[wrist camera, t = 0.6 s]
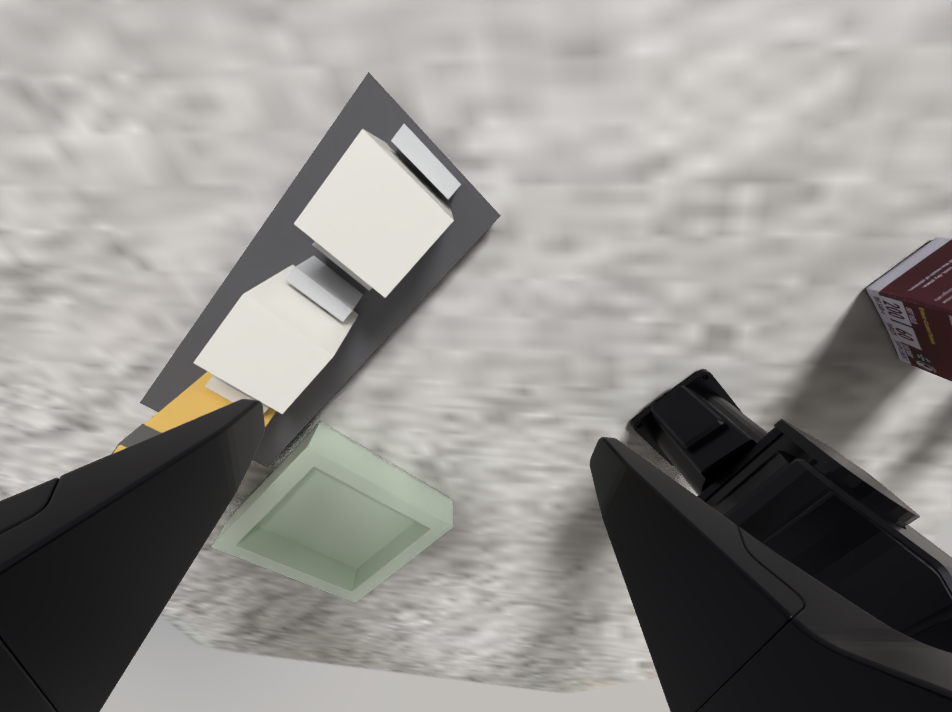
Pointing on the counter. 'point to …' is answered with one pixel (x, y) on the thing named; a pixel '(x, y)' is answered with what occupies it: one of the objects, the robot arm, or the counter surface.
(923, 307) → the supplement box
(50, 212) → the counter surface
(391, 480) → the tray
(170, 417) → the block
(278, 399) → the block
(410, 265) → the block
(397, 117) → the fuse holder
